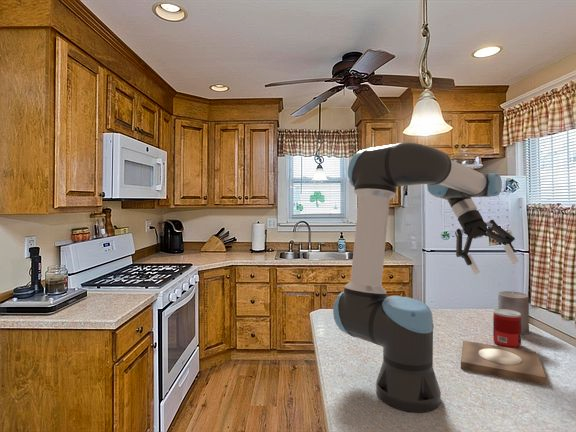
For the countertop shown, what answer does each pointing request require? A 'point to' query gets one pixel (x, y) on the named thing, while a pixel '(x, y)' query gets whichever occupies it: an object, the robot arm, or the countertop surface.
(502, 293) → the pillar candle
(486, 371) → the board
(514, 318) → the canned food
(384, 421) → the countertop surface
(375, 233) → the robot arm
